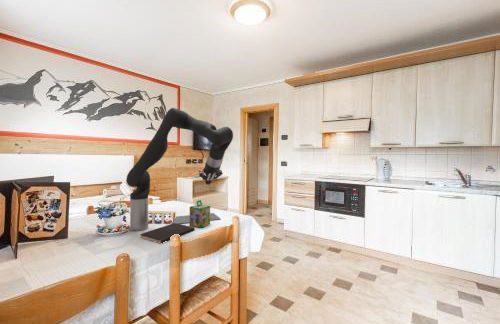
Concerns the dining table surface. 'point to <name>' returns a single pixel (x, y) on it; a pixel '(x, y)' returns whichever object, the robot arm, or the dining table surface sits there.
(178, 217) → the charcoal mat
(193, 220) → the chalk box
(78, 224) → the dining table surface
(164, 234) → the hardcover book
